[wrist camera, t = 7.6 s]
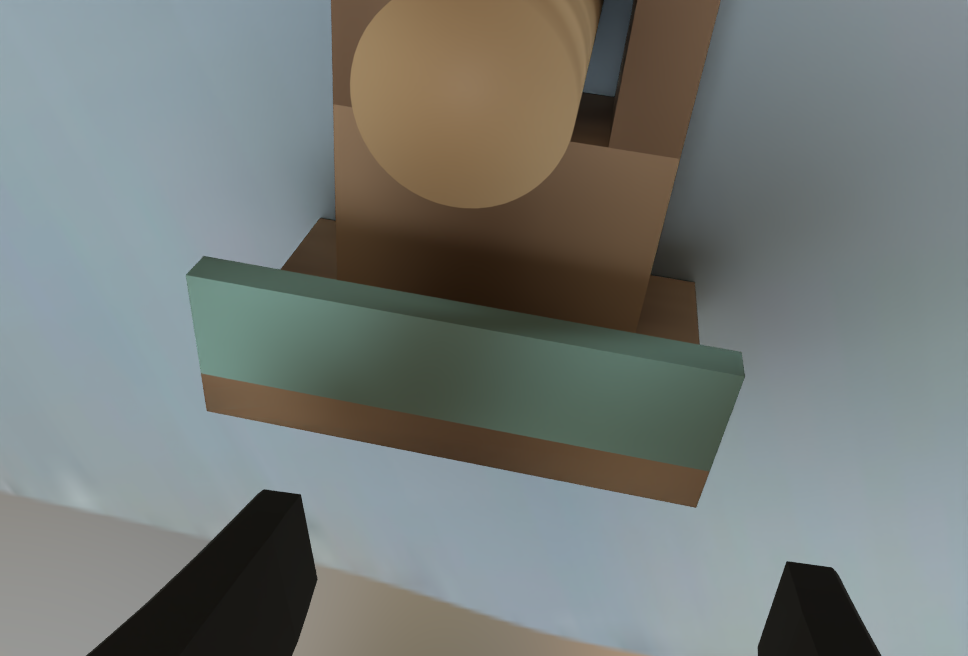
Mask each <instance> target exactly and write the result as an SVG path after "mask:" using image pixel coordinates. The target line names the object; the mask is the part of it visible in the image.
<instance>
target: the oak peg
mask: <svg viewBox="0 0 968 656" xmlns="http://www.w3.org/2000/svg"><path fill="white" fill-rule="evenodd" d="M603 2H604V0H391V1H390V2H389V3H388V4H386V5H385V6H384V7H383V8H382V9H381V10H380V11H379V12H378V13H377V14H376V15H375V17H374V18H373V19H372V21H371V22H370V23H369V25H368V26H367V27H366V29H365V31H364V33H363V35H362V37H361V39H360V40H359V43H358V46H357V49H356V51H355V54H354V58H353V63H352V67H351V77H350V95H351V103H352V109H353V114H354V117H355V120H356V124H357V127H358V129H359V131H360V134H361V136H362V138H363V140H364V142H365V144H366V146H367V147H368V149H369V151H370V152H371V154H372V155H373V156H374V158H375V159H376V161H377V162H378V163H379V164H380V165H381V167H382V168H383V169H384V170H385V171H386V172H387V173H388V174H389V175H390V176H391V177H393V178H394V179H395V180H396V181H397V182H398V183H400V184H401V185H402V186H404V187H405V188H407V189H408V190H410V191H411V192H413V193H415V194H417V195H419V196H421V197H423V198H425V199H428V200H430V201H433V202H436V203H439V204H443V205H447V206H451V207H458V208H485V207H493V206H497V205H501V204H505V203H507V202H510V201H513V200H515V199H517V198H519V197H521V196H523V195H525V194H527V193H529V192H530V191H531V190H533V189H534V188H535V187H537V186H538V185H540V184H541V183H542V182H543V181H544V180H545V179H546V178H547V177H548V176H549V175H550V174H551V172H552V171H553V170H554V169H555V167H556V166H557V165H558V164H559V162H560V160H561V158H562V157H563V155H564V153H565V152H566V149H567V147H568V144H569V142H570V140H571V137H572V133H573V129H574V125H575V121H576V117H577V113H578V108H579V104H580V100H581V96H582V91H583V87H584V83H585V79H586V74H587V70H588V66H589V62H590V57H591V53H592V49H593V45H594V40H595V36H596V32H597V28H598V23H599V19H600V15H601V11H602V6H603Z"/></svg>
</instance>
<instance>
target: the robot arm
mask: <svg viewBox="0 0 968 656" xmlns="http://www.w3.org/2000/svg"><path fill="white" fill-rule="evenodd" d="M316 582H317V575H316V569H315V564H314V559H313V554H312V549H311V544H310V539H309V534H308V528H307V523H306V518H305V513H304V508H303V503H302V498H301V494H293V493H286V492H279V491H272V490H262V491H261V492H260V493H258V494H257V495H256V496H255V497H254V498H253V499H252V500H251V501H250V502H249V503H248V504H247V505H246V506H245V507H244V508H243V509H242V510H241V511H240V512H239V514H238V515H237V516H236V517H235V518H234V519H233V520H232V521H231V522H230V523H229V524H228V525H227V526H226V527H225V528H224V529H223V530H222V531H221V532H220V533H219V534H218V535H217V536H216V537H215V538H214V539H213V540H212V541H211V542H210V543H209V544H208V545H207V546H206V547H205V548H204V549H203V550H202V551H201V552H200V553H199V554H198V555H197V556H196V557H195V558H194V559H193V560H191V561H190V563H188V564H187V565H186V566H185V567H184V568H183V569H182V570H181V571H180V572H179V573H178V574H177V575H176V576H175V577H174V578H173V579H172V580H170V581H169V582H168V583H167V584H166V585H165V586H164V587H163V588H162V589H161V590H160V591H159V592H158V593H157V594H156V595H155V596H154V597H153V598H151V599H150V600H149V601H148V602H147V603H146V604H145V605H144V606H143V607H142V608H140V610H138V611H137V612H136V613H135V614H134V615H132V616H131V617H130V618H129V619H128V620H127V621H126V622H125V623H123V624H122V625H121V626H120V627H119V628H118V629H117V630H115V631H114V632H113V633H112V634H111V635H110V636H108V637H107V638H106V639H105V640H104V641H103V642H102V643H100V644H99V645H98V646H97V647H96V648H95V649H93V651H91V652H90V653H89V654H87V655H86V656H292V654H293V652H294V649H295V647H296V645H297V642H298V639H299V636H300V633H301V630H302V627H303V624H304V621H305V618H306V615H307V612H308V609H309V605H310V602H311V598H312V595H313V592H314V589H315V586H316ZM758 656H881V654H880V652H879V651H878V649H877V647H876V645H875V643H874V642H873V640H872V638H871V636H870V634H869V633H868V631H867V629H866V627H865V625H864V623H863V621H862V620H861V618H860V616H859V614H858V612H857V610H856V608H855V606H854V604H853V602H852V601H851V599H850V597H849V595H848V593H847V591H846V589H845V587H844V585H843V583H842V581H841V579H840V577H839V575H838V574H837V572H836V571H835V570H834V569H833V568H832V567H825V566H817V565H810V564H803V563H796V562H788V561H787V562H786V565H785V568H784V571H783V574H782V577H781V580H780V582H779V585H778V588H777V591H776V594H775V597H774V600H773V603H772V606H771V609H770V612H769V615H768V618H767V621H766V624H765V627H764V630H763V633H762V636H761V639H760V642H759V645H758Z"/></svg>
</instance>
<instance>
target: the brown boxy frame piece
mask: <svg viewBox="0 0 968 656" xmlns="http://www.w3.org/2000/svg"><path fill="white" fill-rule="evenodd" d="M390 1H391V0H331V21H332V69H333V116H334V164H335V212H336V221H333V220H328V219H322V218H320V219H319V220H318V221H317V223H316V224H315V225H314V226H313V228H312V229H311V230H310V232H309V233H308V234H307V236H306V237H305V238H304V240H303V241H302V242H301V243H300V245H299V246H298V247H297V249H296V250H295V251H294V253H293V254H292V255H291V257H290V258H289V259H288V260H287V262H286V263H285V264H284V266H283V267H282V268H281V270H279V269H273V268H268V267H262V266H257V265H251V264H245V263H240V262H234V261H229V260H223V259H217V258H212V257H206V256H203V258H202V259H201V260H200V261H199V262H198V263H197V264H196V265H195V266H194V267H193V268H192V269H191V270H190V271H189V272H188V273H187V274H186V279H187V286H188V292H189V299H190V305H191V312H192V318H193V325H194V331H195V338H196V344H197V351H198V357H199V364H200V370H201V377H202V383H203V389H204V396H205V402H206V409H207V411H209V412H214V413H219V414H224V415H230V416H235V417H240V418H245V419H250V420H255V421H260V422H265V423H270V424H275V425H280V426H285V427H290V428H295V429H300V430H305V431H311V432H316V433H321V434H326V435H331V436H336V437H341V438H346V439H351V440H356V441H361V442H366V443H371V444H376V445H381V446H386V447H392V448H397V449H402V450H407V451H412V452H417V453H422V454H427V455H432V456H437V457H442V458H447V459H452V460H457V461H462V462H467V463H473V464H478V465H483V466H488V467H493V468H498V469H503V470H508V471H513V472H518V473H523V474H528V475H533V476H538V477H543V478H548V479H554V480H559V481H564V482H569V483H574V484H579V485H584V486H589V487H594V488H599V489H604V490H609V491H614V492H619V493H624V494H629V495H635V496H640V497H645V498H650V499H655V500H660V501H665V502H670V503H675V504H680V505H685V506H690V507H695V508H696V507H697V504H698V501H699V499H700V496H701V493H702V490H703V488H704V485H705V482H706V480H707V477H708V474H709V472H710V469H711V466H712V464H713V461H714V458H715V456H716V453H717V450H718V448H719V445H720V442H721V440H722V437H723V434H724V432H725V429H726V426H727V423H728V421H729V418H730V415H731V413H732V410H733V407H734V405H735V402H736V399H737V397H738V394H739V391H740V389H741V386H742V383H743V381H744V378H745V373H744V367H743V360H742V353H741V352H738V351H732V350H726V349H721V348H715V347H710V346H704V345H700V343H699V330H698V317H697V304H696V291H695V283H694V282H689V281H683V280H677V279H671V278H665V277H659V276H654V275H650V274H651V271H652V267H653V263H654V259H655V255H656V251H657V247H658V243H659V239H660V235H661V231H662V228H663V224H664V220H665V216H666V212H667V208H668V204H669V200H670V196H671V192H672V188H673V185H674V181H675V177H676V173H677V169H678V165H679V161H680V157H681V153H682V149H683V146H684V142H685V138H686V134H687V130H688V126H689V122H690V118H691V114H692V110H693V106H694V103H695V99H696V95H697V91H698V87H699V83H700V79H701V75H702V71H703V67H704V63H705V60H706V56H707V52H708V48H709V44H710V40H711V36H712V32H713V28H714V24H715V21H716V17H717V13H718V9H719V5H720V1H721V0H634V1H633V7H632V12H631V17H630V22H629V27H628V32H627V37H626V43H625V48H624V53H623V58H622V63H621V68H620V74H619V79H618V84H617V89H616V94H615V98H614V97H608V96H601V95H595V94H588V93H582V96H581V100H580V104H579V108H578V113H577V117H576V121H575V125H574V129H573V133H572V137H571V140H570V142H569V144H568V147H567V149H566V152H565V153H564V155H563V157H562V158H561V160H560V162H559V164H558V165H557V166H556V167H555V169H554V170H553V171H552V172H551V174H550V175H549V176H548V177H547V178H546V179H545V180H544V181H543V182H542V183H541V184H540V185H538V186H537V187H535V188H534V189H533V190H531V191H530V192H529V193H527V194H525V195H523V196H521V197H519V198H517V199H515V200H513V201H510V202H507V203H505V204H501V205H497V206H493V207H485V208H458V207H451V206H447V205H443V204H439V203H436V202H433V201H430V200H428V199H425V198H423V197H421V196H419V195H417V194H415V193H413V192H411V191H410V190H408V189H407V188H405V187H404V186H402V185H401V184H400V183H398V182H397V181H396V180H395V179H394V178H393V177H391V176H390V175H389V174H388V173H387V172H386V171H385V170H384V169H383V168H382V167H381V165H380V164H379V163H378V162H377V161H376V159H375V158H374V156H373V155H372V154H371V152H370V151H369V149H368V147H367V146H366V144H365V142H364V140H363V138H362V136H361V134H360V131H359V129H358V127H357V124H356V120H355V117H354V114H353V109H352V103H351V95H350V77H351V67H352V63H353V58H354V54H355V51H356V49H357V46H358V43H359V40H360V39H361V37H362V35H363V33H364V31H365V29H366V27H367V26H368V25H369V23H370V22H371V21H372V19H373V18H374V17H375V15H376V14H377V13H378V12H379V11H380V10H381V9H382V8H383V7H384V6H385V5H386V4H388V3H389V2H390Z"/></svg>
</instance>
